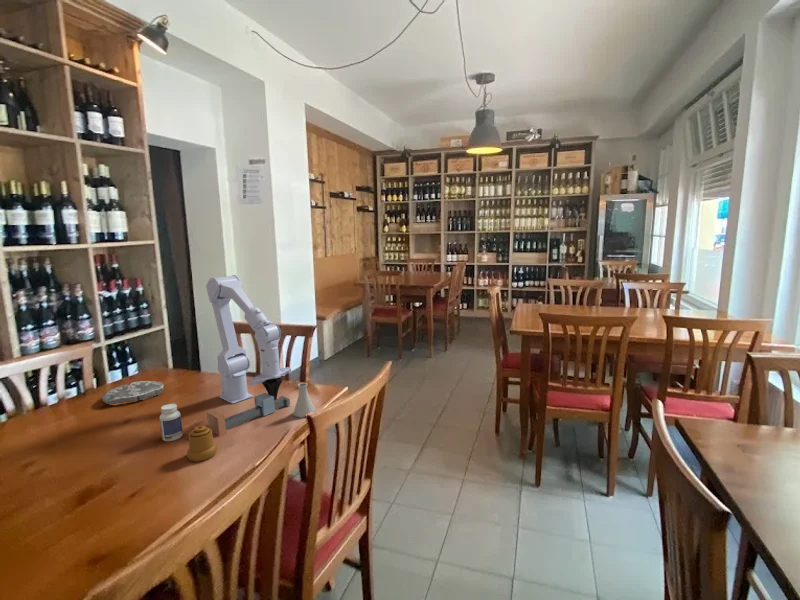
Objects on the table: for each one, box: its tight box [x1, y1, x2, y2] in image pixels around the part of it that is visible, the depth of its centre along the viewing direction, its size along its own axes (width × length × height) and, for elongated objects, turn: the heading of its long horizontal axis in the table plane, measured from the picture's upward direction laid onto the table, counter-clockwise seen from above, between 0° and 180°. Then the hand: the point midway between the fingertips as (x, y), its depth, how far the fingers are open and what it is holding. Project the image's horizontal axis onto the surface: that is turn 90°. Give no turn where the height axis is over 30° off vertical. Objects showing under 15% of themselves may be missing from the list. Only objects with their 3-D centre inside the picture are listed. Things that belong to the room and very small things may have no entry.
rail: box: [206, 395, 291, 437], centre depth 135 cm, size 7×26×6 cm, turn 140°
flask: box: [293, 382, 316, 418], centre depth 137 cm, size 7×7×10 cm
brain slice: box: [100, 380, 165, 406], centre depth 156 cm, size 20×17×3 cm
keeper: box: [253, 392, 276, 417], centre depth 139 cm, size 5×4×5 cm
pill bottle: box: [159, 403, 184, 442], centre depth 123 cm, size 5×5×10 cm
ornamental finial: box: [186, 425, 218, 462], centre depth 113 cm, size 8×8×8 cm
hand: (273, 399), depth 141 cm, fingers closed
